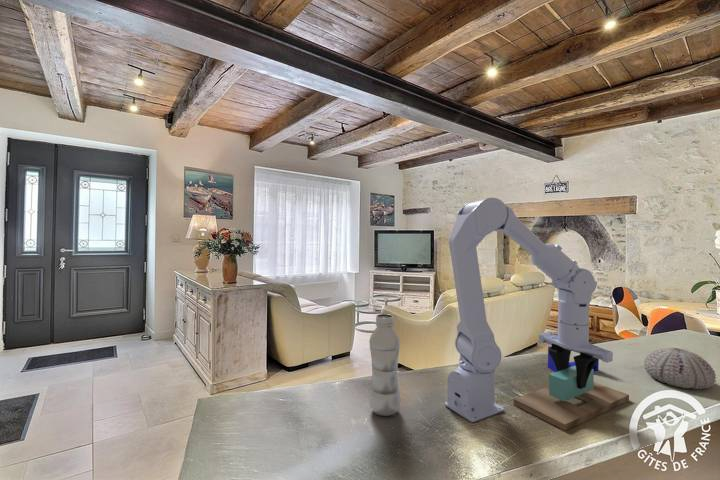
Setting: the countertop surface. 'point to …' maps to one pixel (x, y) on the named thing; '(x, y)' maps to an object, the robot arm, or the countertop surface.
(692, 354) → the sea urchin shell
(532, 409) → the slotted wooden board
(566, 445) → the countertop surface
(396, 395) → the plastic bottle
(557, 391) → the teal rectangular block
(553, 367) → the blue concave arch block
